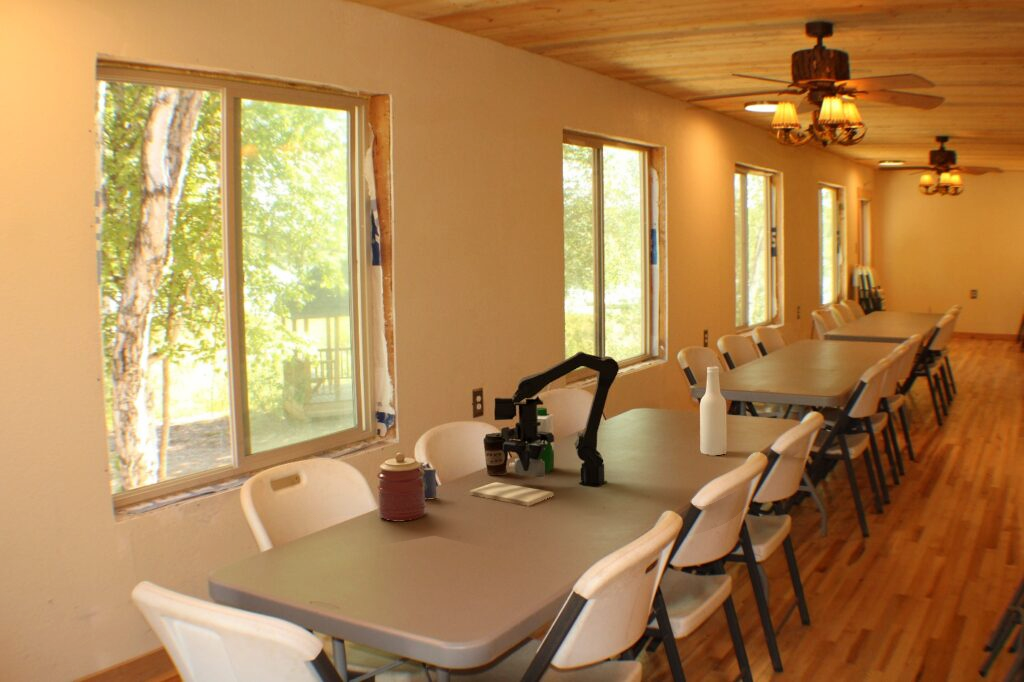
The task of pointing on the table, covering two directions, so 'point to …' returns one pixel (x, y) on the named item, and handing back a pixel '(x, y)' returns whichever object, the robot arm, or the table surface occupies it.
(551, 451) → the milk carton
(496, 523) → the table surface
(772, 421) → the table surface
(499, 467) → the coffee cup
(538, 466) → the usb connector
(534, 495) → the birch board
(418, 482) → the canister
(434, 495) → the flask
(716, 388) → the alcohol
